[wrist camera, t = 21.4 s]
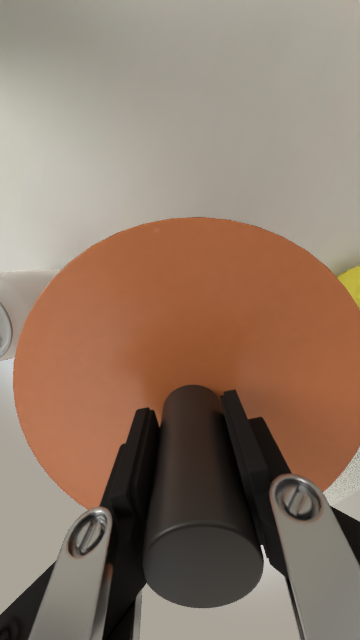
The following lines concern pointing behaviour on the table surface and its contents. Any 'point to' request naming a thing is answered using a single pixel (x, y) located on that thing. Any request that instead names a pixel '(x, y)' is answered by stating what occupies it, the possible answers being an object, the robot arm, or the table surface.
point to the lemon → (352, 283)
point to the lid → (191, 383)
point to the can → (18, 304)
